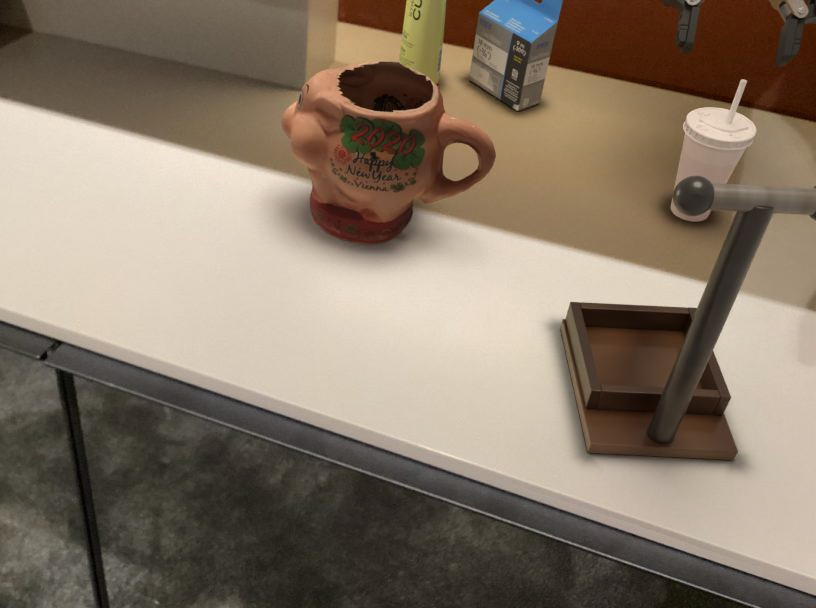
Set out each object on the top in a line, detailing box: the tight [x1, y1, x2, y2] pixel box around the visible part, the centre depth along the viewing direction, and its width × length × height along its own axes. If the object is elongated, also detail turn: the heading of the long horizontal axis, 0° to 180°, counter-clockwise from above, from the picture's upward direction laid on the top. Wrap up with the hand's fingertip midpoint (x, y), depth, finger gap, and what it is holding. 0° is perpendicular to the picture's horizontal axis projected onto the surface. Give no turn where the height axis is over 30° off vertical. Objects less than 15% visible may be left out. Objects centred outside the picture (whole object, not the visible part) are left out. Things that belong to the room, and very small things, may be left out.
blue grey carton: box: [468, 0, 564, 112], centre depth 108 cm, size 9×4×12 cm, turn 33°
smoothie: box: [670, 78, 757, 223], centre depth 91 cm, size 6×6×14 cm
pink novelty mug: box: [280, 61, 497, 245], centre depth 89 cm, size 20×12×14 cm, turn 75°
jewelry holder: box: [559, 176, 816, 461], centre depth 70 cm, size 11×14×23 cm
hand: (734, 57), depth 88 cm, fingers open, 8 cm apart
